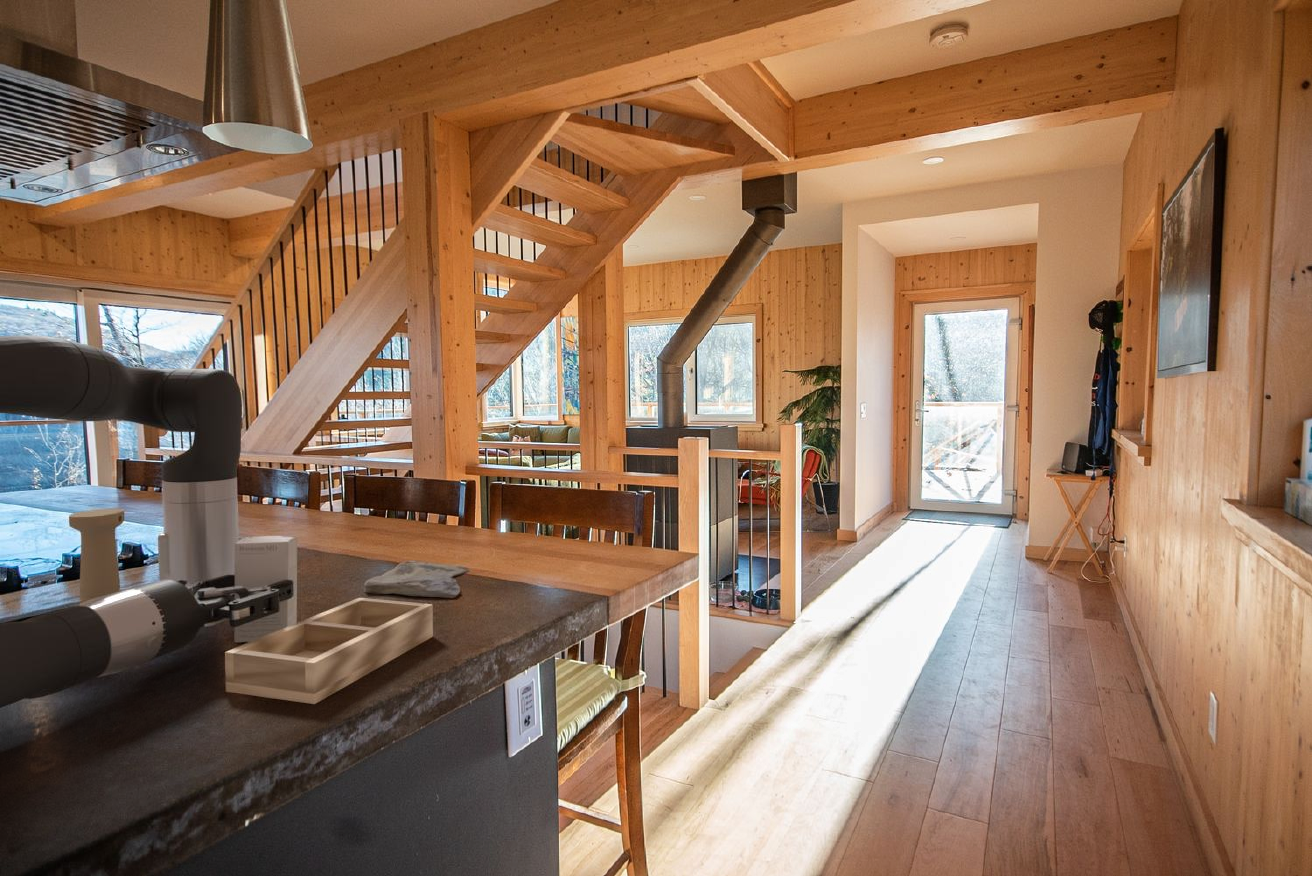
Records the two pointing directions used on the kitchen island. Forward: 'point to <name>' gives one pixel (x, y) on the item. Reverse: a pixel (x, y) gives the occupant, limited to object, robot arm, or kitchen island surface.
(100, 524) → the handle
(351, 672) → the tray
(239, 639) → the skincare box
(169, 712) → the kitchen island surface
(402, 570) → the fossil rock
